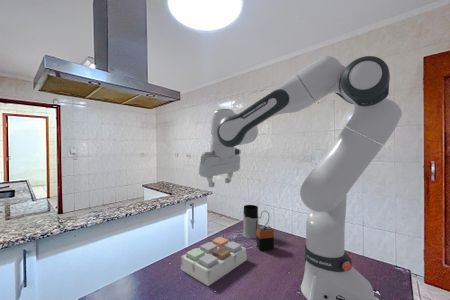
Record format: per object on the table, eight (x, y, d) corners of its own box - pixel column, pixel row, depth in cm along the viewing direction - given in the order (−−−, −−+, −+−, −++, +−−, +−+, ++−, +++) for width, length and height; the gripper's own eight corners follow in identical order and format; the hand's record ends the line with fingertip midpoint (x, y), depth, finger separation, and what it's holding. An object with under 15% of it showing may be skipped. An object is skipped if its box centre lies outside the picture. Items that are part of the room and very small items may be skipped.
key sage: (204, 259, 83) (204, 251, 83) (194, 264, 79) (194, 256, 79) (196, 255, 86) (196, 247, 86) (186, 260, 82) (186, 252, 82)
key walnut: (230, 258, 84) (230, 250, 83) (221, 263, 80) (221, 255, 80) (220, 254, 87) (220, 246, 87) (212, 259, 83) (212, 251, 83)
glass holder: (245, 230, 120) (245, 203, 120) (271, 234, 114) (271, 206, 114) (240, 236, 112) (240, 208, 112) (267, 241, 106) (267, 211, 106)
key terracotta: (228, 246, 93) (228, 239, 93) (220, 250, 90) (220, 243, 90) (219, 243, 97) (219, 236, 97) (212, 247, 93) (212, 240, 93)
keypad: (246, 260, 89) (246, 244, 89) (208, 286, 72) (208, 267, 72) (219, 248, 99) (219, 234, 99) (180, 269, 82) (180, 252, 82)
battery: (256, 246, 101) (256, 225, 100) (270, 245, 102) (270, 224, 102) (259, 251, 96) (259, 229, 96) (274, 249, 98) (274, 228, 97)
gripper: (207, 153, 76) (206, 191, 77) (243, 150, 91) (241, 182, 92) (195, 151, 80) (194, 187, 82) (232, 148, 95) (230, 179, 96)
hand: (220, 184), depth 87 cm, fingers open, 8 cm apart
